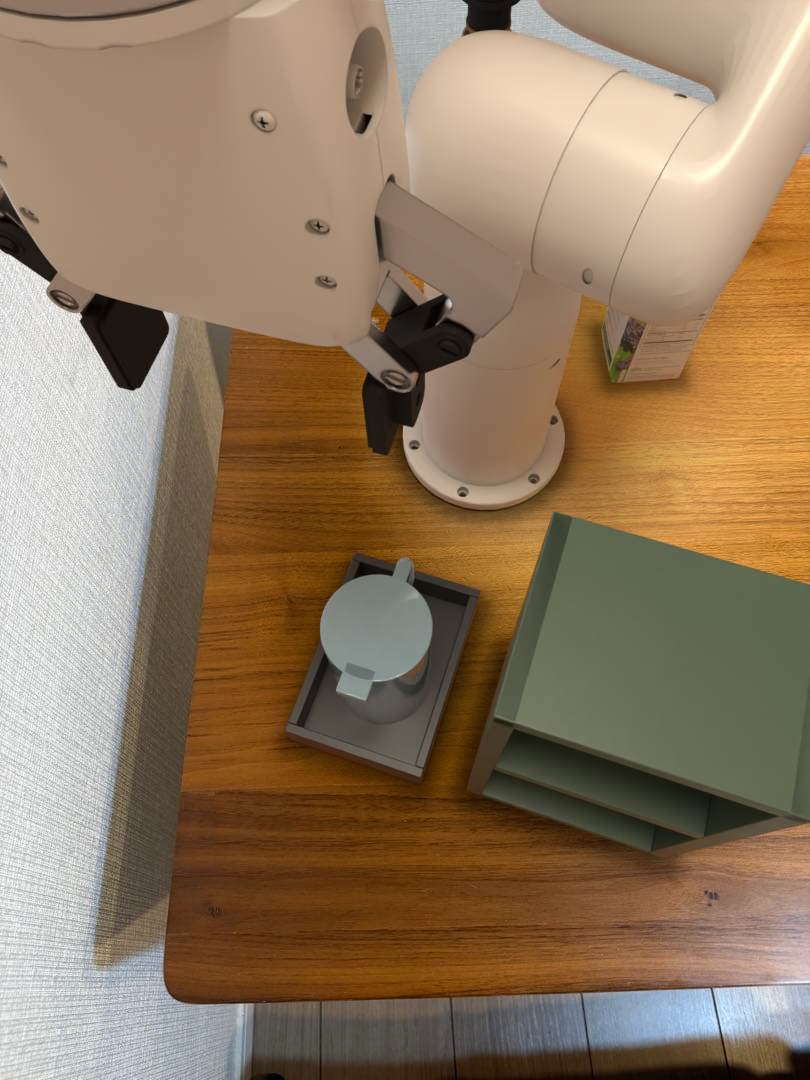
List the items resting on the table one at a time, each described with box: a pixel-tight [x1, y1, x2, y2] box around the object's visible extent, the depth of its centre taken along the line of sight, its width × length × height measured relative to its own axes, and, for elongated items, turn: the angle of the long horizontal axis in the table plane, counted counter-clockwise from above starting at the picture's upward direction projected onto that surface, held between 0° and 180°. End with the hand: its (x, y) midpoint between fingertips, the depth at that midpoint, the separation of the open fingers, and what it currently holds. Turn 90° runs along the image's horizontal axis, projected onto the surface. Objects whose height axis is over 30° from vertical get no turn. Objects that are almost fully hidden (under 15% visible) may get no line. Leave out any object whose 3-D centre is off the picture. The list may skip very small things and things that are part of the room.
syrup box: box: [600, 292, 722, 384], centre depth 62 cm, size 6×6×14 cm
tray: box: [284, 552, 482, 786], centre depth 56 cm, size 13×9×3 cm
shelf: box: [465, 511, 810, 859], centre depth 45 cm, size 10×13×22 cm
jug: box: [319, 556, 433, 724], centre depth 52 cm, size 10×6×11 cm, turn 161°
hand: (266, 389), depth 30 cm, fingers open, 9 cm apart
